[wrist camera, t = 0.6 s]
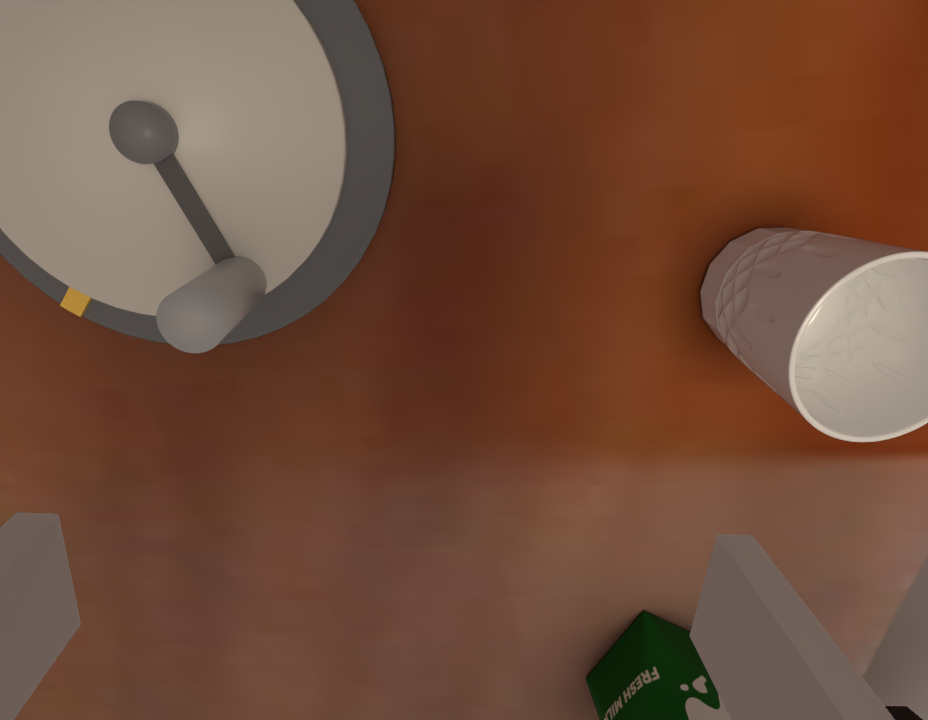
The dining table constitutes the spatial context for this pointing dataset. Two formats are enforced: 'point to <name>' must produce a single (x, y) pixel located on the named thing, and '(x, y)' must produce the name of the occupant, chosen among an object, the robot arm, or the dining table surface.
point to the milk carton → (654, 677)
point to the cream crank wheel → (168, 152)
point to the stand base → (354, 218)
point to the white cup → (827, 326)
